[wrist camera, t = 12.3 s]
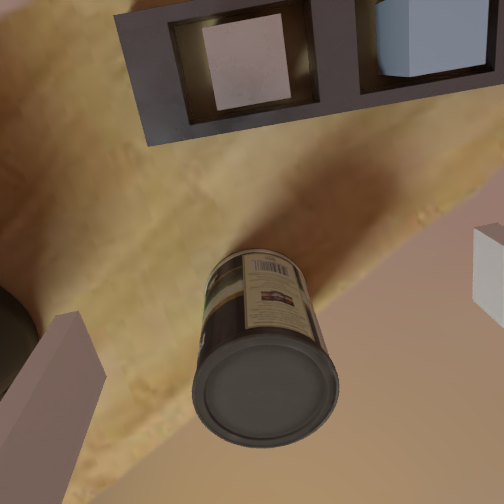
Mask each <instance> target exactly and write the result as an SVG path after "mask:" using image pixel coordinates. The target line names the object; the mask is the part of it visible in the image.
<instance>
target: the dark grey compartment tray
mask: <svg viewBox="0 0 504 504" xmlns="http://www.w3.org/2000/svg"><path fill="white" fill-rule="evenodd" d="M302 2H303V9H304V19H305V29H306V39H307V48H308V58H309V68H310V78H311V87H312V97H313V99H308V100H303V101H297V102H292V103H286V104H280V105H275V106H269V107H264V108H258V109H252V110H247V111H241V112H236V113H230V114H224V115H219V116H213V117H208V118H202V119H196V120H194V119H193V115H192V110H191V105H190V101H189V96H188V91H187V87H186V82H185V77H184V73H183V68H182V63H181V59H180V54H179V49H178V45H177V40H176V35H175V31H174V26H178V25H184V24H189V23H194V22H200V21H205V20H211V19H216V18H221V17H227V16H232V15H237V14H243V13H248V12H253V11H259V10H264V9H269V8H275V7H280V6H286V5H291V4H296V3H302ZM113 16H114V20H115V24H116V28H117V31H118V35H119V39H120V43H121V47H122V50H123V54H124V58H125V62H126V66H127V69H128V73H129V77H130V81H131V85H132V88H133V92H134V96H135V100H136V104H137V107H138V111H139V115H140V119H141V123H142V126H143V130H144V134H145V138H146V142H147V145H148V147H149V146H155V145H161V144H166V143H172V142H178V141H183V140H189V139H195V138H200V137H206V136H212V135H217V134H223V133H229V132H234V131H240V130H245V129H251V128H257V127H262V126H268V125H274V124H279V123H285V122H291V121H296V120H302V119H308V118H313V117H319V116H325V115H330V114H336V113H341V112H347V111H353V110H358V109H364V108H370V107H375V106H381V105H387V104H392V103H398V102H404V101H409V100H415V99H421V98H426V97H432V96H437V95H443V94H449V93H454V92H460V91H466V90H471V89H477V88H483V87H488V86H494V85H500V84H504V0H489V8H488V26H487V44H486V62H485V64H482V65H476V66H471V71H465V72H460V73H454V74H448V75H443V76H437V77H432V78H426V79H420V80H415V81H409V82H404V83H398V84H392V85H387V86H381V87H376V88H370V89H364V90H360V84H359V67H358V50H357V33H356V16H355V0H193V1H187V2H182V3H177V4H171V5H166V6H161V7H155V8H150V9H145V10H140V11H134V12H129V13H124V14H118V15H113Z"/></svg>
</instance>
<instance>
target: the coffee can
mask: <svg viewBox="0 0 504 504" xmlns="http://www.w3.org/2000/svg"><path fill="white" fill-rule="evenodd" d="M338 396H339V379H338V375H337V372H336V369H335V366H334V365H333V362H332V360H331V359H330V357H329V354H328V351H327V348H326V345H325V342H324V339H323V336H322V333H321V330H320V327H319V324H318V320H317V318H316V314H315V312H314V308H313V306H312V302H311V299H310V296H309V293H308V290H307V284H306V281H305V278H304V276H303V274H302V272H301V270H300V269H299V268H298V266H297V265H296V264H295V263H294V262H293V261H291V260H290V259H289V258H287V257H286V256H284V255H282V254H280V253H277V252H274V251H270V250H265V249H250V250H243V251H240V252H238V253H235V254H233V255H231V256H229V257H227V258H226V259H224V260H223V261H222V262H220V263H219V264H218V265H217V266H216V267H215V269H214V270H213V271H212V273H211V274H210V276H209V278H208V281H207V284H206V288H205V304H204V313H203V322H202V329H201V338H200V345H199V353H198V361H197V370H196V373H195V376H194V380H193V386H192V399H193V404H194V408H195V410H196V413H197V415H198V417H199V418H200V420H201V421H202V423H203V424H204V425H205V426H206V427H207V428H208V429H209V430H210V431H211V432H213V433H214V434H215V435H217V436H218V437H220V438H222V439H224V440H225V441H228V442H230V443H233V444H236V445H240V446H244V447H249V448H274V447H280V446H285V445H289V444H291V443H294V442H297V441H299V440H302V439H304V438H305V437H307V436H309V435H310V434H312V433H314V432H315V431H316V430H317V429H318V428H320V427H321V426H322V425H323V424H324V423H325V422H326V421H327V419H328V418H329V417H330V415H331V414H332V412H333V410H334V408H335V406H336V403H337V400H338Z"/></svg>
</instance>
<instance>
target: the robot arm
mask: <svg viewBox="0 0 504 504" xmlns="http://www.w3.org/2000/svg"><path fill="white" fill-rule="evenodd" d="M473 301H474V302H475V303H477V304H478V305H479V306H480V307H481V308H482V309H483V310H484V311H485V312H486V313H488V314H489V315H490V316H491V317H492V318H493V319H494V320H495V321H496V322H497V323H498V324H500V325H501V326H502V327H503V328H504V226H502V225H500V224H499V223H493V224H489V225H484V226H479V227H474V253H473ZM106 377H107V376H106V374H105V372H104V369H103V367H102V365H101V362H100V360H99V358H98V355H97V353H96V350H95V348H94V346H93V343H92V341H91V339H90V336H89V334H88V332H87V329H86V327H85V325H84V322H83V320H82V317H81V315H80V313H79V311H75V312H71V313H66V314H61V315H56V316H55V318H54V319H53V321H52V322H51V324H50V325H49V327H48V329H47V330H46V332H45V333H44V335H43V336H42V338H41V339H40V341H39V340H38V335H37V331H36V328H35V326H34V323H33V321H32V319H31V318H30V316H29V314H28V313H27V311H26V310H25V309H24V307H23V306H22V305H21V304H20V303H19V302H18V301H17V300H16V299H15V298H14V297H13V296H12V295H11V294H9V293H8V292H7V291H6V290H4V289H3V288H1V287H0V504H62V501H63V498H64V495H65V492H66V489H67V487H68V484H69V481H70V478H71V475H72V473H73V470H74V467H75V464H76V461H77V458H78V456H79V453H80V450H81V447H82V444H83V441H84V439H85V436H86V433H87V430H88V427H89V425H90V422H91V419H92V416H93V413H94V410H95V408H96V405H97V402H98V399H99V396H100V393H101V391H102V388H103V385H104V382H105V379H106Z"/></svg>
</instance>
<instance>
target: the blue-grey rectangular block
mask: <svg viewBox="0 0 504 504" xmlns="http://www.w3.org/2000/svg"><path fill="white" fill-rule="evenodd" d="M488 8H489V0H385V1H383V2H380V3H378V4H375V21H376V47H377V73H378V75H389V76H402V77H413V76H419V75H425V74H430V73H436V72H442V71H448V70H453V69H459V68H465V67H471V66H476V65H482V64H485V62H486V44H487V26H488Z"/></svg>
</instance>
